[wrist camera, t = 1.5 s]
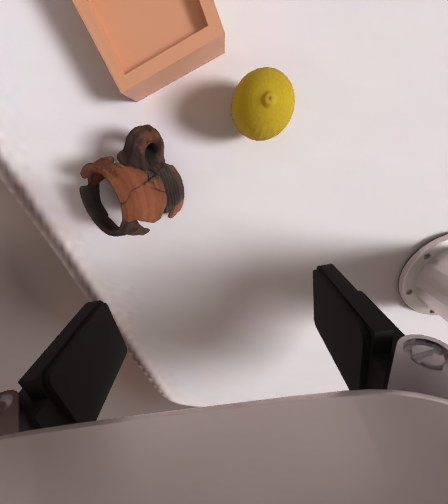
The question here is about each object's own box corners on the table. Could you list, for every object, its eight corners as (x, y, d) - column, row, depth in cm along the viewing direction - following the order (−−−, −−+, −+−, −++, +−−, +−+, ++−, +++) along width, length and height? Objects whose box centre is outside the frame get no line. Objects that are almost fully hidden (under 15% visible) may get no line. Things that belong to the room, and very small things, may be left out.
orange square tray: (174, -88, 19) (162, -147, 15) (224, 52, 23) (224, 33, 19) (75, -19, 21) (42, -57, 17) (137, 101, 25) (120, 93, 21)
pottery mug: (181, 233, 31) (130, 260, 25) (130, 198, 33) (72, 215, 27) (206, 141, 24) (144, 146, 18) (139, 103, 26) (62, 96, 20)
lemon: (272, 147, 26) (291, 147, 19) (224, 134, 26) (225, 128, 19) (289, 90, 24) (318, 65, 17) (237, 74, 24) (244, 41, 16)
